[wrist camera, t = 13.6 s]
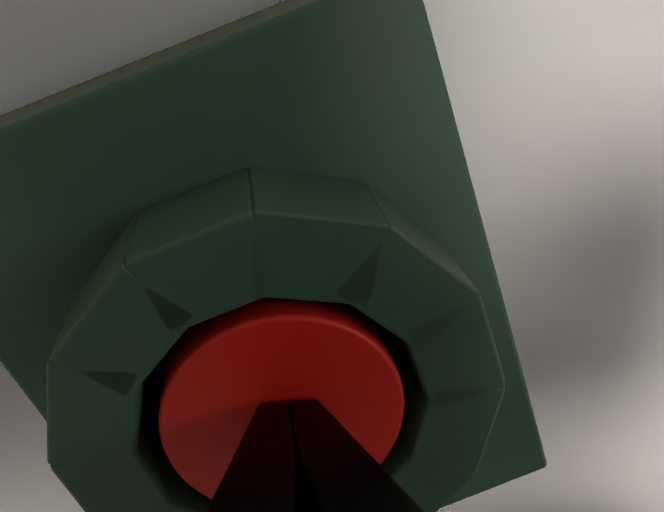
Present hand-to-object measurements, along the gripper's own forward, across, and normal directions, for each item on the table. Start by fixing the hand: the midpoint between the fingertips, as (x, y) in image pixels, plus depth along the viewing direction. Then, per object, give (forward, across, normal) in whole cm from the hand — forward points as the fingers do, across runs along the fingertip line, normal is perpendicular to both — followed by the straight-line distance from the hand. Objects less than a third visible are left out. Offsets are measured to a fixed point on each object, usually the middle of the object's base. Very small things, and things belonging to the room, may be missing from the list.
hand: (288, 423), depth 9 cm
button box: (+3, 0, 0) cm, 3 cm away
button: (+2, 0, 0) cm, 2 cm away
